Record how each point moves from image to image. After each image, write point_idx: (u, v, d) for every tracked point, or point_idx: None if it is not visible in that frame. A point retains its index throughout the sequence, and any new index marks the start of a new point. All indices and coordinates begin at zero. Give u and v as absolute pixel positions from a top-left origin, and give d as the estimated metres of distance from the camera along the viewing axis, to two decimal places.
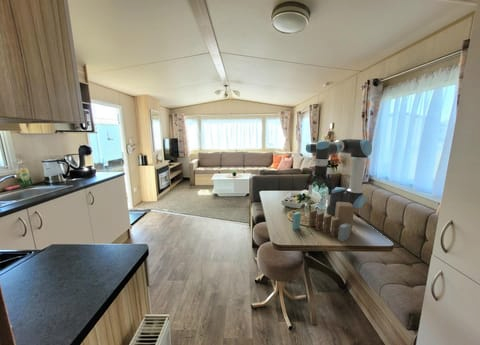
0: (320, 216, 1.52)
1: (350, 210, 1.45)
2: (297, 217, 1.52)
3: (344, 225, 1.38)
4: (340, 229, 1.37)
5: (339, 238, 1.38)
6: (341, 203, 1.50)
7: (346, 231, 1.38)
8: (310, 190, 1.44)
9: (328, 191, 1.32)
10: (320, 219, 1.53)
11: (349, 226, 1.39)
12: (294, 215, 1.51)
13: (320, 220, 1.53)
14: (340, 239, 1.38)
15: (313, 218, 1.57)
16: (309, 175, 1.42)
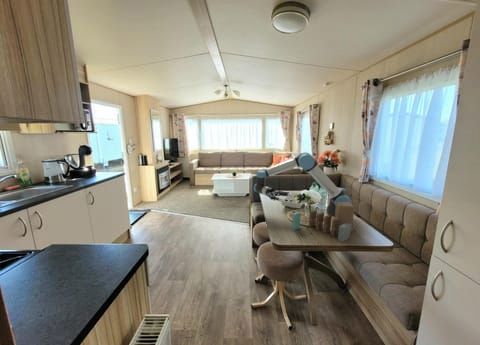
0: (320, 216, 1.52)
1: (350, 210, 1.45)
2: (297, 217, 1.52)
3: (344, 225, 1.38)
4: (340, 229, 1.37)
5: (339, 238, 1.38)
6: (341, 203, 1.50)
7: (346, 231, 1.38)
8: (291, 196, 1.64)
9: (276, 199, 1.58)
10: (320, 219, 1.53)
11: (349, 226, 1.39)
12: (294, 215, 1.51)
13: (320, 220, 1.53)
14: (340, 239, 1.38)
15: (313, 218, 1.57)
16: None
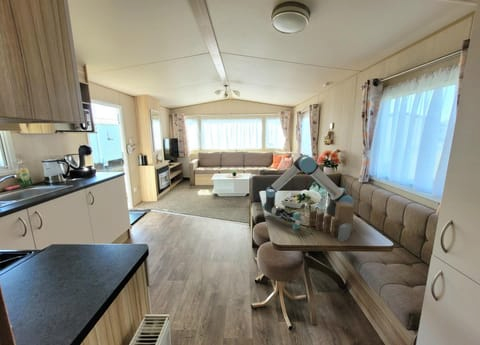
0: (320, 216, 1.52)
1: (350, 210, 1.45)
2: (297, 217, 1.52)
3: (344, 225, 1.38)
4: (340, 229, 1.37)
5: (339, 238, 1.38)
6: (341, 203, 1.50)
7: (346, 231, 1.38)
8: (301, 220, 1.54)
9: (292, 221, 1.52)
10: (320, 219, 1.53)
11: (349, 226, 1.39)
12: (294, 215, 1.51)
13: (320, 220, 1.53)
14: (340, 239, 1.38)
15: (313, 218, 1.57)
16: None
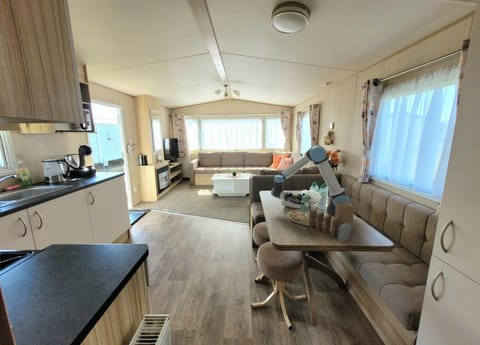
0: (320, 216, 1.52)
1: (350, 210, 1.45)
2: (305, 200, 1.58)
3: (344, 225, 1.38)
4: (340, 229, 1.37)
5: (339, 238, 1.38)
6: (341, 203, 1.50)
7: (346, 231, 1.38)
8: (310, 202, 1.59)
9: None
10: (320, 219, 1.53)
11: (349, 226, 1.39)
12: (303, 198, 1.57)
13: (320, 220, 1.53)
14: (340, 239, 1.38)
15: (313, 218, 1.57)
16: None
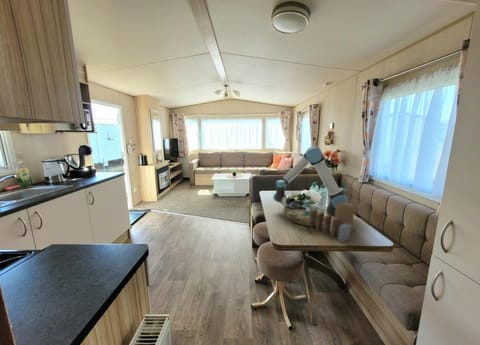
0: (320, 216, 1.52)
1: (350, 210, 1.45)
2: (307, 204, 1.61)
3: (344, 225, 1.38)
4: (340, 229, 1.37)
5: (339, 238, 1.38)
6: (341, 203, 1.50)
7: (346, 231, 1.38)
8: (311, 207, 1.62)
9: (303, 209, 1.60)
10: (320, 219, 1.53)
11: (349, 226, 1.39)
12: (304, 203, 1.60)
13: (320, 220, 1.53)
14: (340, 239, 1.38)
15: (313, 218, 1.57)
16: (302, 203, 1.73)
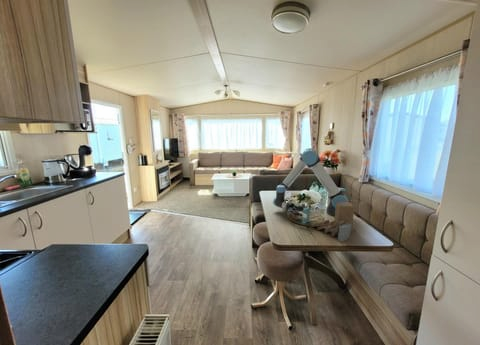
0: (330, 225, 1.46)
1: (350, 210, 1.45)
2: (306, 212, 1.62)
3: (344, 225, 1.38)
4: (340, 229, 1.37)
5: (339, 238, 1.38)
6: (341, 203, 1.50)
7: (346, 231, 1.38)
8: (311, 212, 1.65)
9: (300, 215, 1.61)
10: None
11: (349, 226, 1.39)
12: (304, 210, 1.61)
13: (327, 226, 1.49)
14: (340, 239, 1.38)
15: None
16: None
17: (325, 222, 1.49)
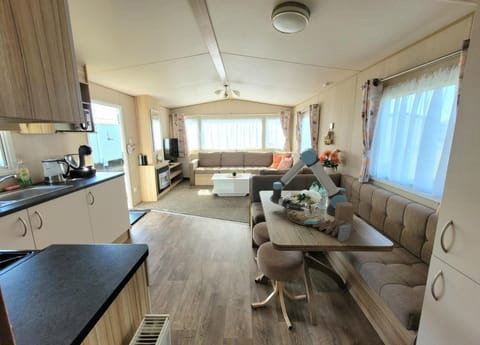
0: None
1: (350, 210, 1.45)
2: None
3: (344, 225, 1.38)
4: (340, 229, 1.37)
5: (339, 238, 1.38)
6: (341, 203, 1.50)
7: (346, 231, 1.38)
8: None
9: (301, 210, 1.65)
10: None
11: (349, 226, 1.39)
12: (315, 222, 1.54)
13: (328, 226, 1.48)
14: (340, 239, 1.38)
15: (321, 225, 1.52)
16: None
17: (326, 222, 1.48)
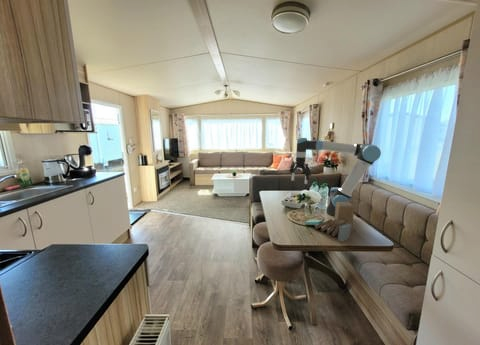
0: None
1: (350, 210, 1.45)
2: None
3: (344, 225, 1.38)
4: (340, 229, 1.37)
5: (339, 238, 1.38)
6: (341, 203, 1.50)
7: (346, 231, 1.38)
8: (293, 177, 1.80)
9: (306, 177, 1.68)
10: (331, 225, 1.46)
11: (349, 226, 1.39)
12: (317, 223, 1.53)
13: (330, 226, 1.47)
14: (340, 239, 1.38)
15: (323, 225, 1.50)
16: (292, 165, 1.78)
17: (328, 221, 1.47)
